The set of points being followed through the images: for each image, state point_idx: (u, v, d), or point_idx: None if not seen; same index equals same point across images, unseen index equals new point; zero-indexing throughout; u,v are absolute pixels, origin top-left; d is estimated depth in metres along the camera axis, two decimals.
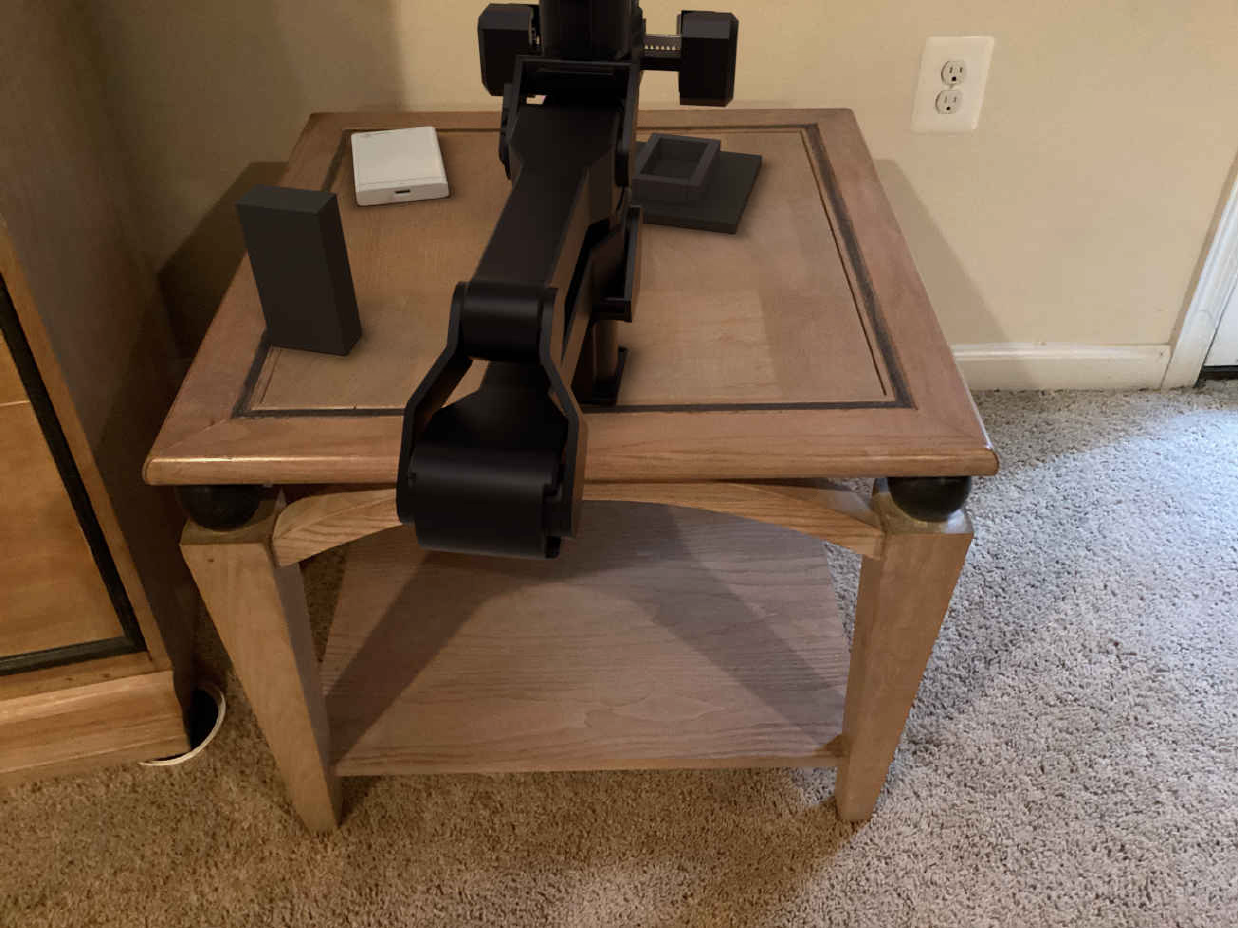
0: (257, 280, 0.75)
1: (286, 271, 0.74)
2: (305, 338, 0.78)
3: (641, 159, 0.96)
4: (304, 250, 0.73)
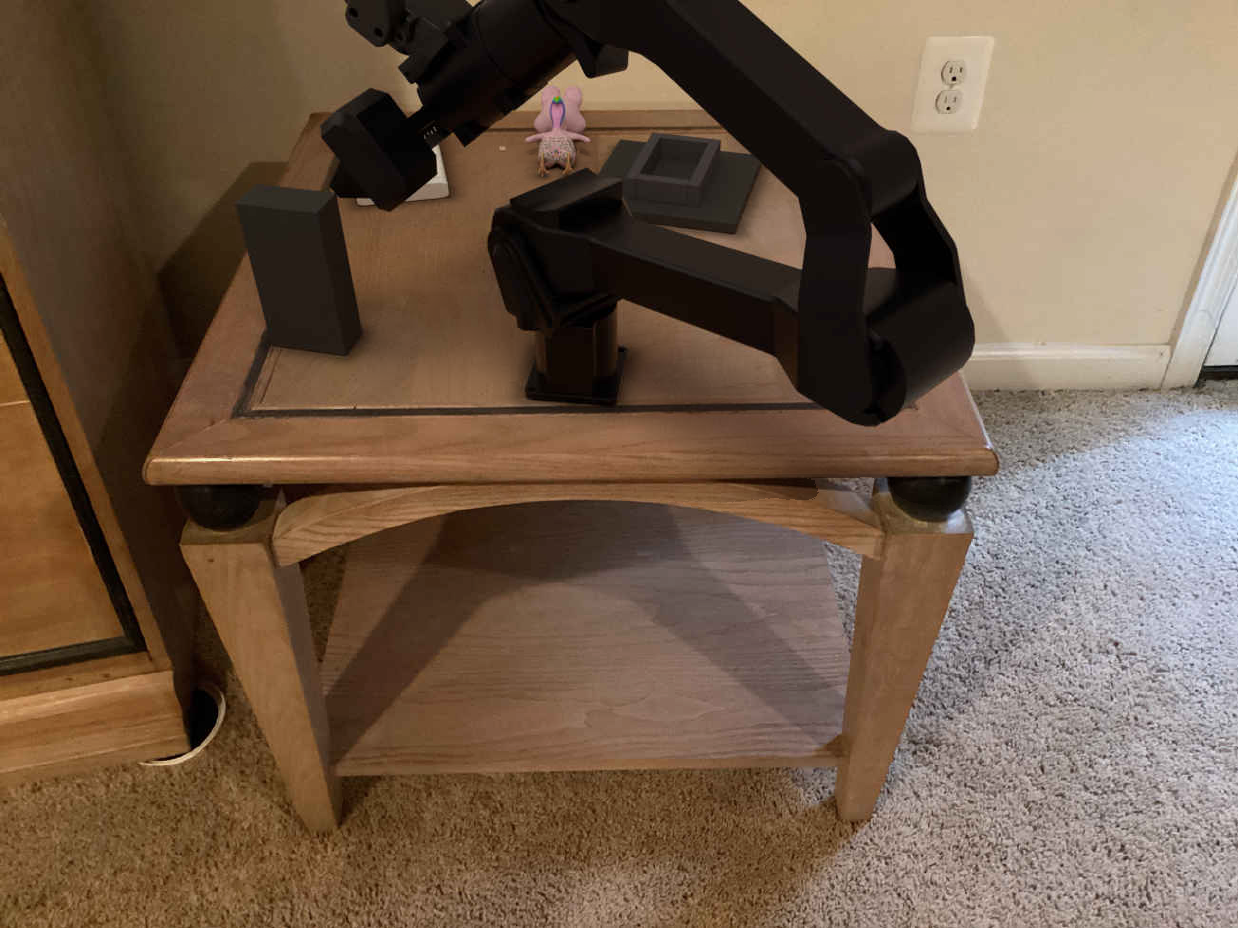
0: (257, 280, 0.75)
1: (286, 271, 0.74)
2: (305, 338, 0.78)
3: (641, 159, 0.96)
4: (304, 250, 0.73)
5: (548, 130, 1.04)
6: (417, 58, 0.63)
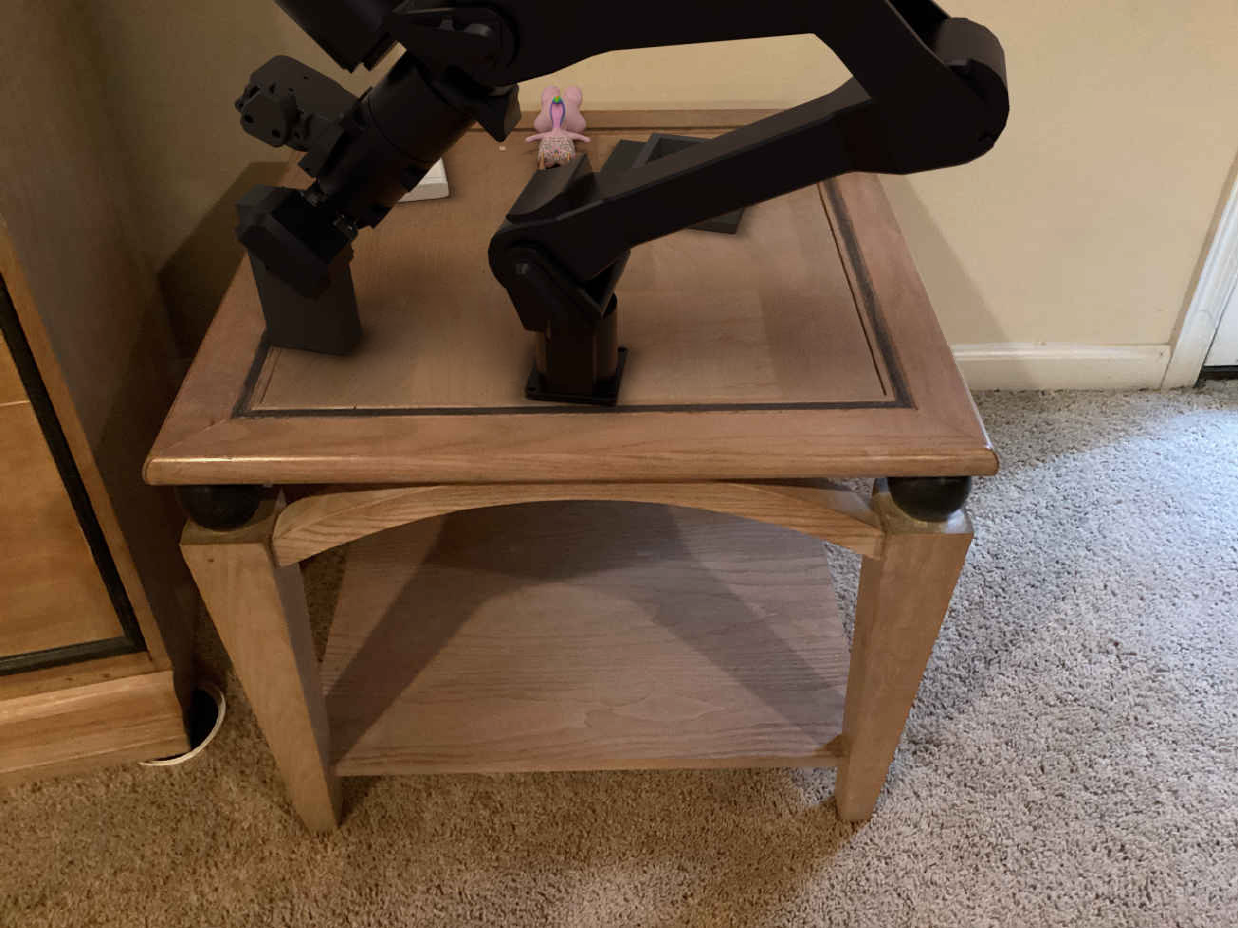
0: (257, 280, 0.75)
1: None
2: (305, 338, 0.78)
3: (641, 159, 0.96)
4: None
5: (548, 130, 1.04)
6: (316, 152, 0.66)
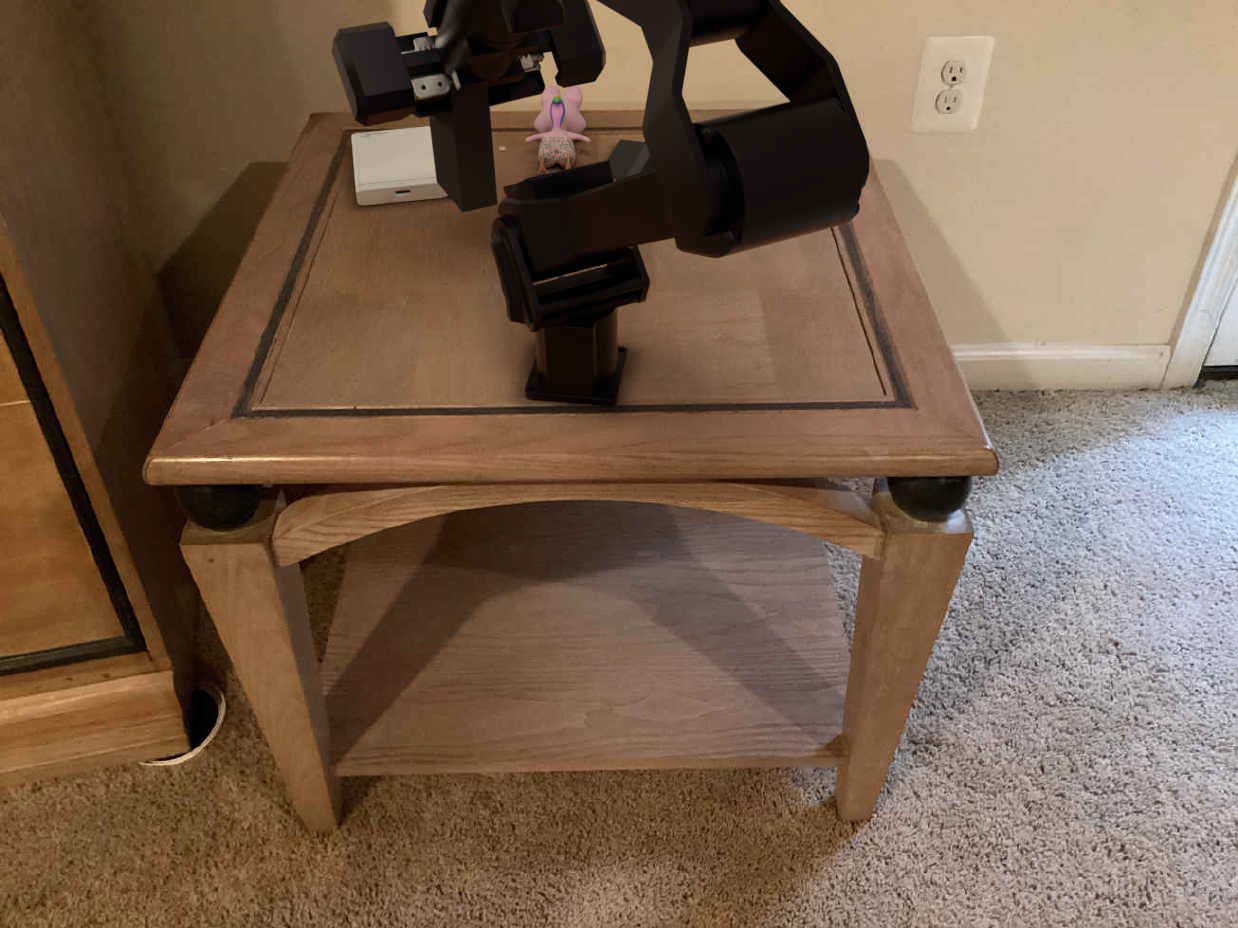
0: (429, 117, 0.84)
1: None
2: (447, 184, 0.85)
3: (641, 159, 0.96)
4: None
5: (548, 130, 1.04)
6: (428, 3, 0.72)
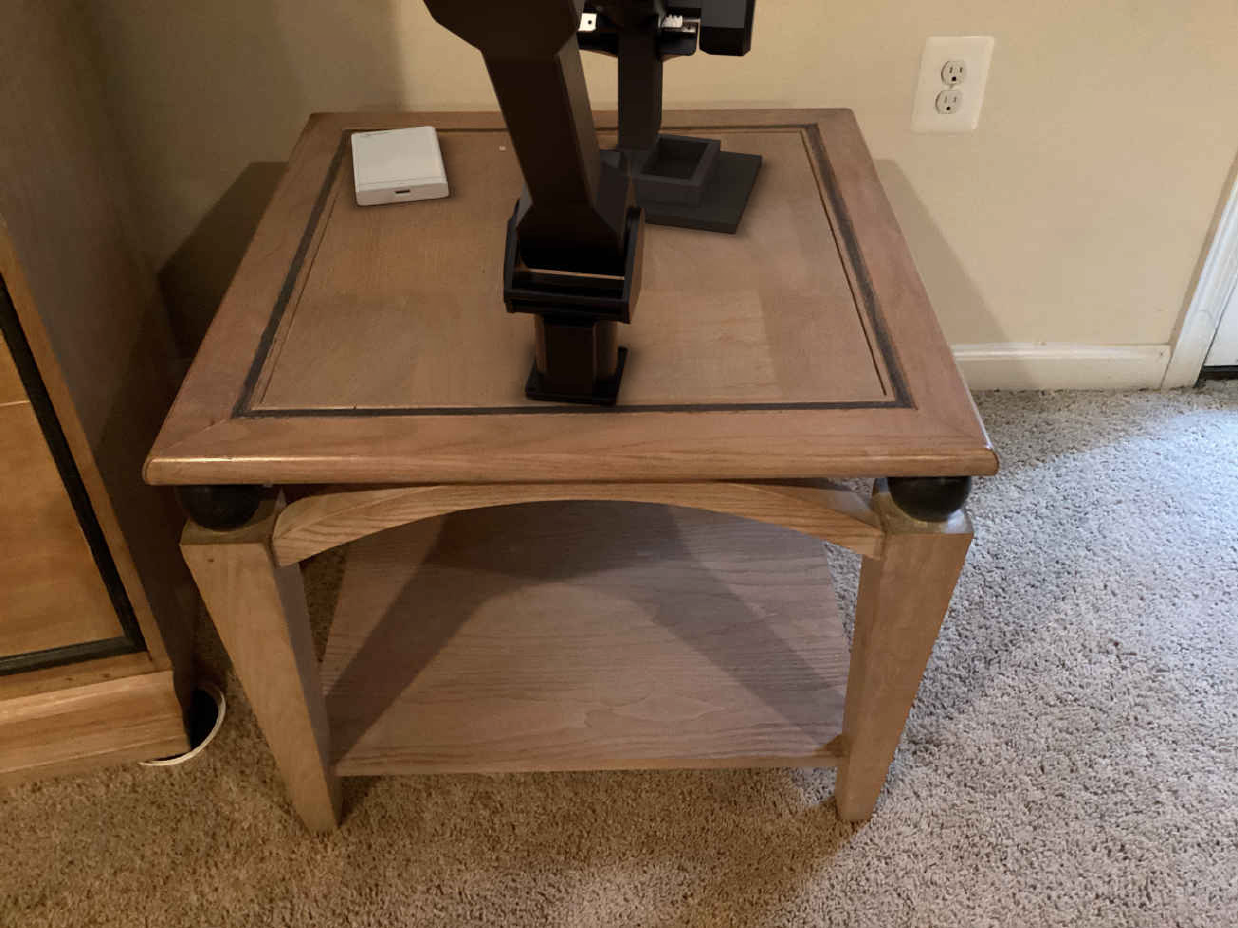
0: None
1: None
2: None
3: (641, 159, 0.96)
4: None
5: None
6: None
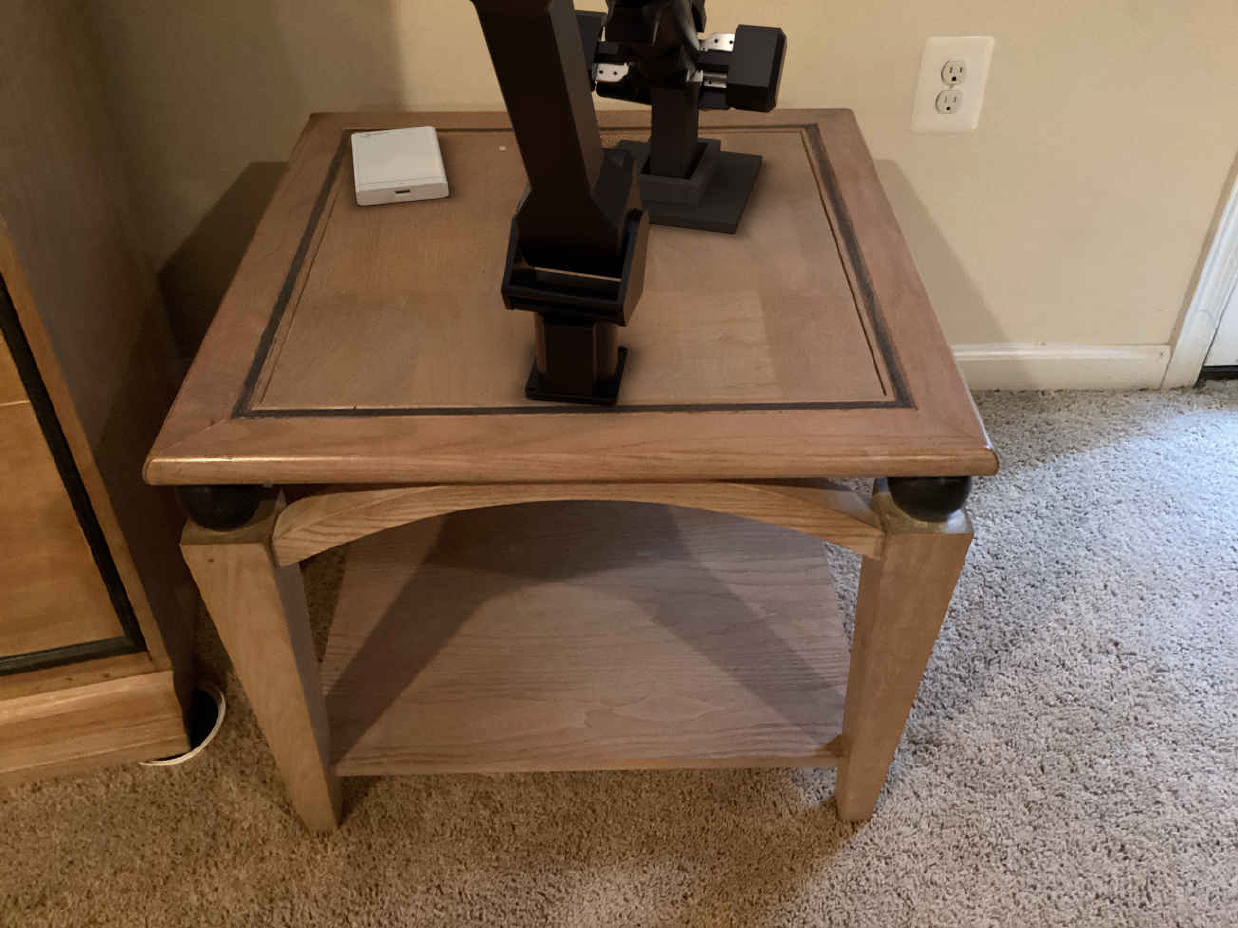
0: None
1: None
2: None
3: (641, 159, 0.96)
4: None
5: None
6: None
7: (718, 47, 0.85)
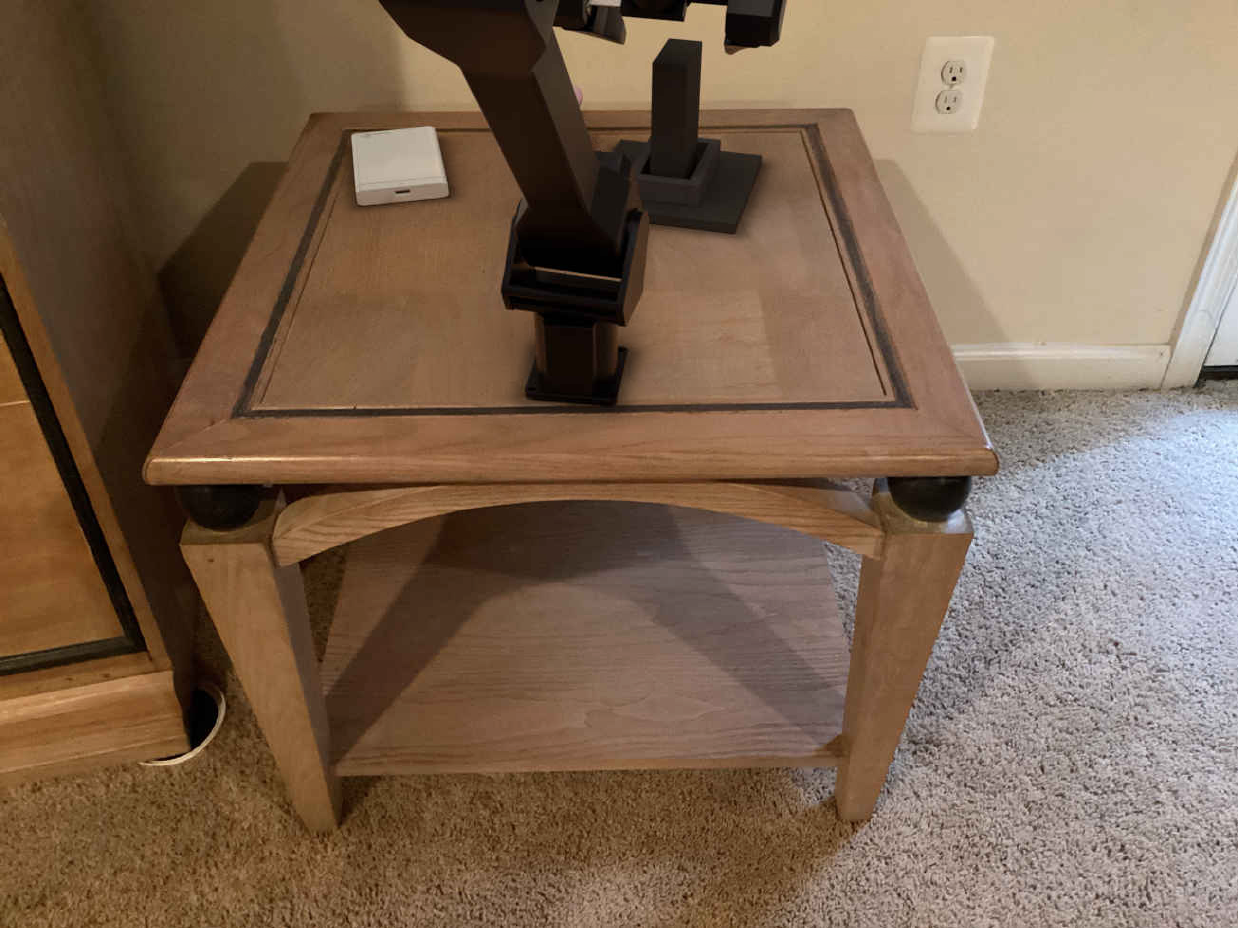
0: None
1: None
2: None
3: (641, 159, 0.96)
4: None
5: None
6: None
7: None
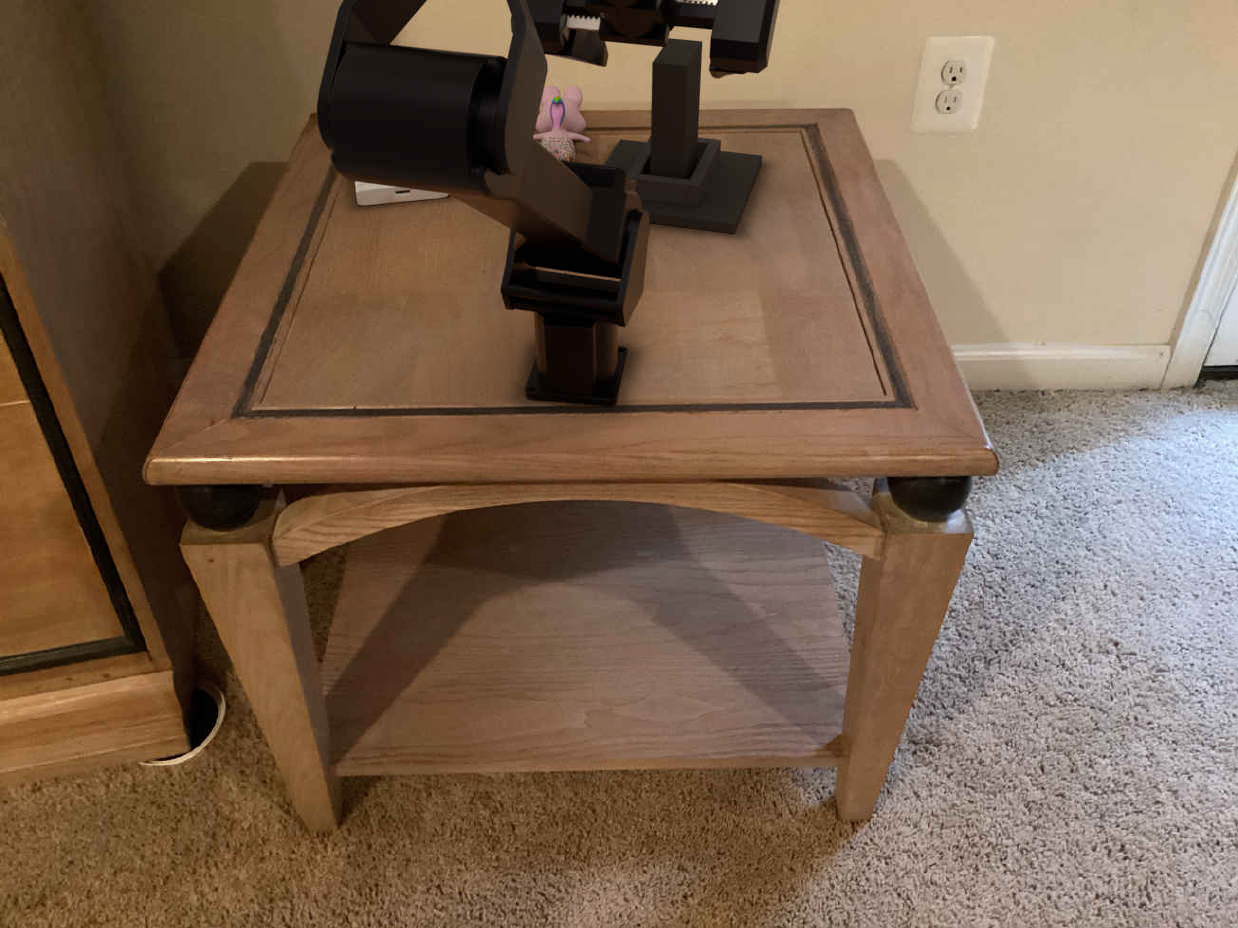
0: None
1: None
2: None
3: (641, 159, 0.96)
4: None
5: (548, 130, 1.04)
6: None
7: None
